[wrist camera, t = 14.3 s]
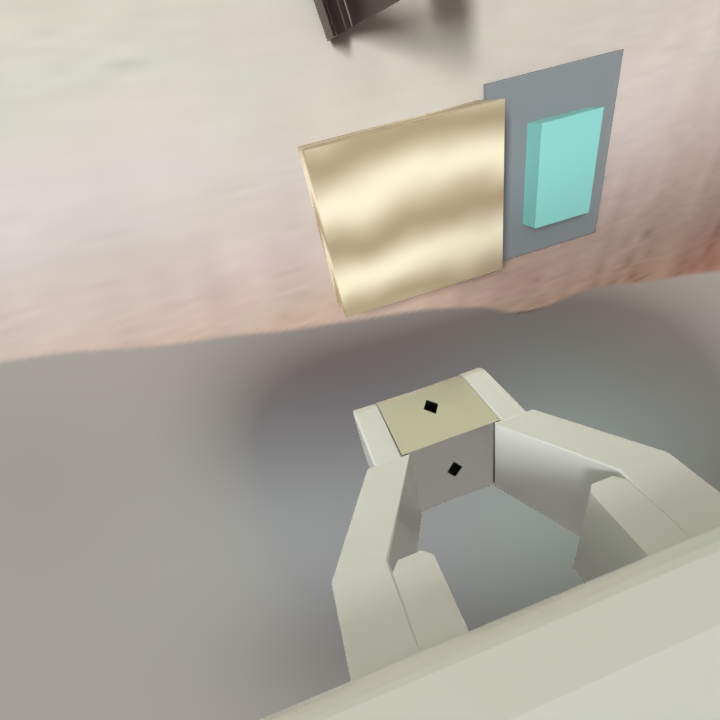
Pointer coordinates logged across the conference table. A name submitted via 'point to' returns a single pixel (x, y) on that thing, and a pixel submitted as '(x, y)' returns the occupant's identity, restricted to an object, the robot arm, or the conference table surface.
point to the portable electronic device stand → (347, 14)
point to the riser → (410, 203)
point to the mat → (543, 100)
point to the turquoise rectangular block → (560, 166)
